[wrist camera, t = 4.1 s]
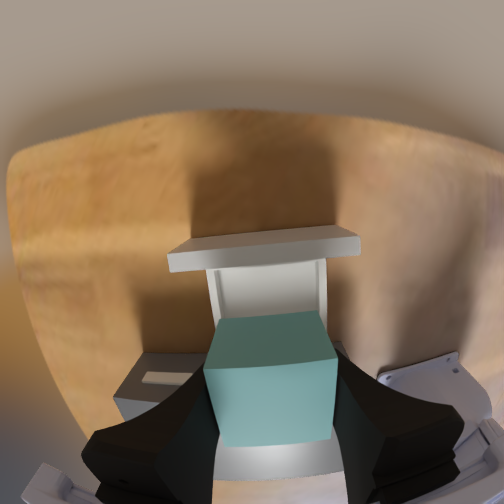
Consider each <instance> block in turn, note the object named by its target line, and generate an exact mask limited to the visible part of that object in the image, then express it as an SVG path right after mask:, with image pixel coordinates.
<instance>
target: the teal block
mask: <svg viewBox="0 0 504 504" xmlns="http://www.w3.org/2000/svg"><path fill="white" fill-rule="evenodd" d="M337 367H338V357H337V354H336V352H335V350H334V347H333V345H332V343H331V340H330V338H329V336H328V334H327V331H326V329H325V327H324V324H323V322H322V320H321V318H320V315H319V313H318V311H317V310H314V311H305V312H296V313H286V314H276V315H265V316H253V317H240V318H225V319H219V322H218V325H217V328H216V331H215V334H214V337H213V340H212V343H211V346H210V349H209V352H208V355H207V358H206V361H205V364H204V368H203V371H204V375H205V379H206V383H207V387H208V391H209V395H210V398H211V402H212V406H213V409H214V413H215V417H216V420H217V424H218V427H219V430H220V434H221V437H222V440H223V443H224V447H257V446H275V445H287V444H297V443H306V442H313V441H320V440H326V439H330V438H331V431H332V423H333V414H334V404H335V393H336V381H337Z"/></svg>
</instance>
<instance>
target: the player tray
mask: <svg viewBox="0 0 504 504" xmlns="http://www.w3.org/2000/svg"><path fill="white" fill-rule="evenodd" d="M354 255H361V249H360V235H357V234H355V233H353V232H351V231H349V230H347V229H344V228H342V227H340V226H338V225H327V226H315V227H304V228H293V229H281V230H271V231H260V232H250V233H240V234H230V235H220V236H210V237H201V238H192V239H189V240H187V241H186V242H184V243H183V244H181V245H180V246H178V247H177V248H175V249H174V250H172V251H171V252H169V253H168V254H167V257H168V263H169V269H170V272H182V271H194V270H206V274H207V281H208V287H209V293H210V300H211V306H212V312H213V318H214V323H215V329H216V328H217V325H218V322H219V319H225V318H240V317H253V316H265V315H276V314H286V313H296V312H305V311H314V310H317V311H318V313H319V315H320V318H321V320H322V322H323V324H324V327H325V329H326V331H327V276H326V258H335V257H344V256H354Z"/></svg>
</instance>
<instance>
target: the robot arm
mask: <svg viewBox="0 0 504 504" xmlns="http://www.w3.org/2000/svg"><path fill="white" fill-rule="evenodd" d="M334 350H335V352H336V354H337V357H338V367H337V381H336V393H335V404H334V414H333V423H332V424H333V427H334V430H335V432H336V435H337V439H338V442H339V446H340V451H341V456H342V462H343V467H344V474H345V480H346V487H347V495H348V504H504V430H503V429H502V427H501V426H500V425H499V424H498V423H497V422H496V421H495V420H494V419H493V418H491V416H492V406H491V401H490V398H489V396H488V394H487V392H486V391H485V389H484V388H483V387H482V386H481V385H480V384H479V383H478V382H477V381H476V380H475V379H474V378H473V376H472V375H471V374H470V373H469V372H468V371H467V370H466V369H465V368H464V367H463V366H462V365H461V364H460V363H459V362H458V361H457V360H458V357H459V353H458V352H452V353H450V354H447V355H444V356H441V357H438V358H434V359H431V360H428V361H425V362H421V363H418V364H414V365H411V366H407V367H403V368H400V369H396V370H392V371H388V372H383V373H381V374H379V376H378V377H377V380H375V379H374V378H372V377H371V376H369V375H368V374H366V373H365V372H364V371H362V370H361V369H360V368H359V367H357V366H356V365H355V364H354V363H352V362H351V361H350V360H349V359H348V358H347V357H345V356H344V355H343V354H342V353H341V352H340V351H339V350H338V349H336V348H334ZM204 364H205V362H204V363H203V364H202V365H201V366H200V367H199V368H198V369H197V370H196V371H195V372H194V373H193V375H192V376H191V377H190V378H189V379H188V380H187V381H186V382H185V383H184V384H183V385H182V386H180V387H179V388H178V389H177V390H176V391H175V392H174V393H173V394H171V395H170V396H169V397H168V398H166V399H165V400H164V401H162V402H161V403H159V404H158V405H156V406H155V407H153V408H152V409H150V410H148V411H146V412H144V413H143V414H141V415H139V416H137V417H135V418H133V419H130V420H128V421H126V422H123V423H121V424H118V425H115V426H112V427H108V428H105V429H101V430H97V431H95V432H94V433H93V435H92V436H91V438H90V440H89V441H88V443H87V444H86V446H85V448H84V449H83V451H82V453H81V456H82V459H83V462H84V463H85V464H86V466H87V467H88V468H89V469H90V471H91V472H92V473H93V474H94V475H95V476H96V478H97V479H98V480H99V481H100V482H101V484H100V486H99V488H98V490H97V492H94V491H92V490H89V489H87V488H84V487H82V486H79V485H77V484H74V483H73V482H72V480H71V479H70V478H69V477H68V476H67V475H66V474H64V473H63V472H62V471H60V470H57V469H56V468H54V467H52V466H50V465H48V464H46V463H42V465H41V466H40V468H39V469H38V471H37V472H36V474H35V475H34V477H33V478H32V480H31V481H30V483H29V484H28V486H27V487H26V489H25V490H24V492H23V493H22V495H21V498H22V499H23V500H24V501H25V502H26V503H27V504H212V488H213V475H214V465H215V455H216V449H217V444H218V440H219V436H220V430H219V427H218V424H217V420H216V417H215V413H214V409H213V406H212V402H211V398H210V395H209V391H208V387H207V383H206V379H205V375H204V371H203V368H204ZM387 376H388V377H387ZM386 377H387V378H386Z"/></svg>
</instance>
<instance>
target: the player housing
mask: <svg viewBox="0 0 504 504" xmlns="http://www.w3.org/2000/svg"><path fill="white" fill-rule="evenodd" d="M332 345H333V347H334V348H336V349H338V350H339V351H340V352H341V353H342V354H343V355H344V356H345V357H347V358H348V359H349V357H348V355H347V353H346V351H345V349H344V347H343V345H342V343H341V342H334V343H332ZM207 355H208V353H143V354H142V355H141V356H140V358H139V359H138V361H137V362H136V364H135V365H134V367H133V368H132V369H131V371H130V372H129V374H128V375H127V377H126V378H125V380H124V381H123V383H122V384H121V386H120V387H119V389H118V390H117V391H116V393H115V394H114V396H113V398H114V401H115V403H116V405H117V407H118V409H119V411H120V413H121V415H122V416H123V418H124V420H125V422H126V421H128V420H130V419H133V418H135V417H137V416H139V415H141V414H143V413H144V412H146V411H148V410H150V409H152V408H153V407H155V406H156V405H158V404H159V403H161V402H162V401H164V400H165V399H166V398H168V397H169V396H170V395H171V394H173V393H174V392H175V391H176V390H177V389H178V388H179V387H180V386H182V385H183V384H184V383H185V382H186V381H187V380H188V379H189V378H190V377H191V376H192V375H193V373H194V372H195V371H196V370H197V369H198V368H199V367H200V366H201V365H202V364H203V363H204V362H205V361H206V358H207ZM349 360H350V359H349ZM340 471H344V467H343V462H342V456H341V451H340V446H339V442H338V439H337V435H336V432H335V430H334V427H333V424H332V431H331V438H330V439H326V440H320V441H313V442H306V443H297V444H287V445H275V446H257V447H224V443H223V440H222V437H221V434H220V436H219V440H218V444H217V449H216V455H215V465H214V475H213V480H227V481H260V480H279V479H291V478H301V477H309V476H316V475H323V474H329V473H335V472H340Z"/></svg>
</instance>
